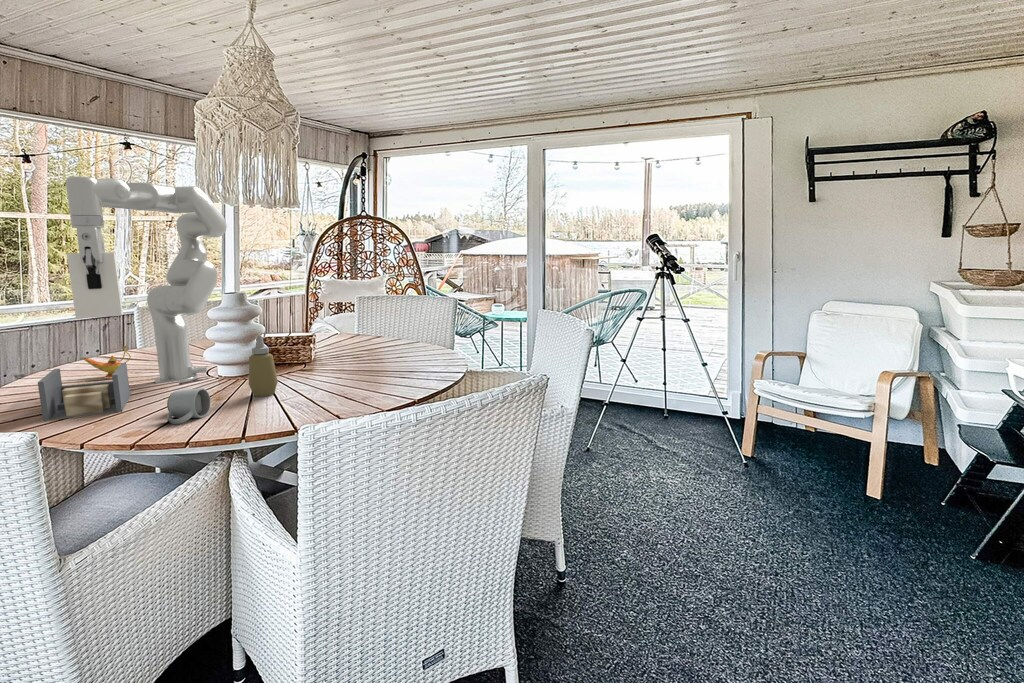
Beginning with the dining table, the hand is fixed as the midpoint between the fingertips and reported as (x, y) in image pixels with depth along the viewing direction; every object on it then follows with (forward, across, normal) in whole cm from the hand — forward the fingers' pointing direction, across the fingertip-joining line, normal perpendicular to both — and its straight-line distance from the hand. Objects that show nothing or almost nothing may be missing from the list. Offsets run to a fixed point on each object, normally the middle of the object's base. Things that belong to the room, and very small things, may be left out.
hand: (96, 287), depth 174 cm
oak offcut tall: (+32, -15, +3) cm, 35 cm away
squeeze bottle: (+33, -15, -41) cm, 55 cm away
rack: (+33, -13, +3) cm, 36 cm away
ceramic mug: (+33, -32, -21) cm, 51 cm away
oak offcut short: (+32, -19, +3) cm, 37 cm away
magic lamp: (+33, +39, +6) cm, 52 cm away
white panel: (+8, 0, 0) cm, 8 cm away
